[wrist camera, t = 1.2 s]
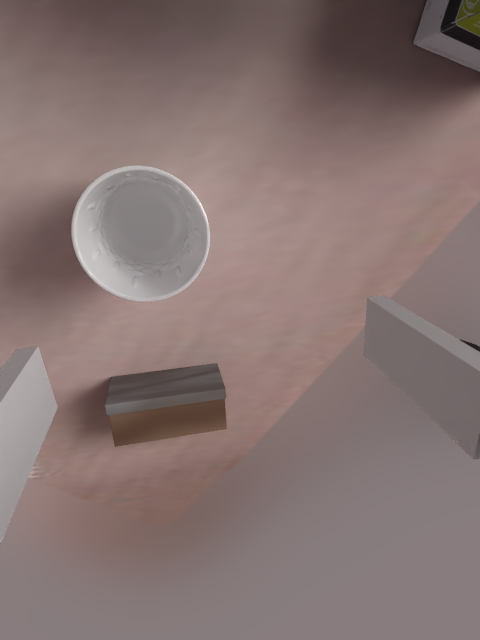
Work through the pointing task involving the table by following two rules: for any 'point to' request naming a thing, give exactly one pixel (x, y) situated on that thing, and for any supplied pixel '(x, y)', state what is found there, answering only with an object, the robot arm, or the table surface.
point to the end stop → (166, 404)
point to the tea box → (451, 30)
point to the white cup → (140, 233)
